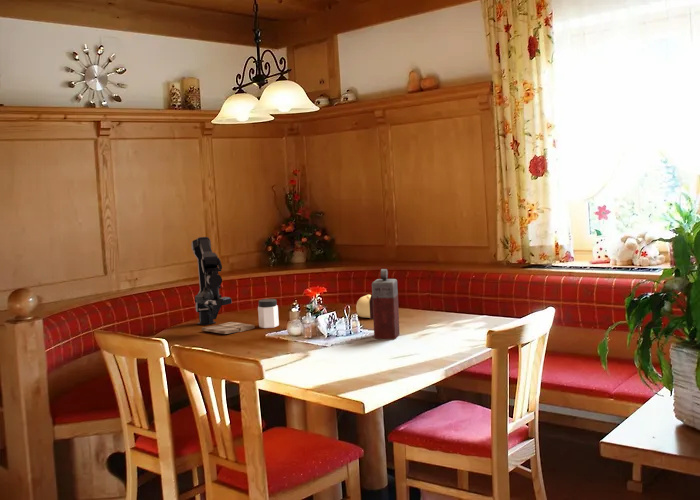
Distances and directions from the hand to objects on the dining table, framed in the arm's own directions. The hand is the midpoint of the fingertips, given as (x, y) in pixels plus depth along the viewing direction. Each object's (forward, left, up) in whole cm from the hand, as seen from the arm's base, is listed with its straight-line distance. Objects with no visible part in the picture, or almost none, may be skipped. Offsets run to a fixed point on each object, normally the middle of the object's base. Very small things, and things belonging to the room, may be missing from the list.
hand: (214, 319), depth 339 cm
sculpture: (+40, +59, -7) cm, 72 cm away
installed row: (0, +12, -6) cm, 14 cm away
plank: (0, +3, -6) cm, 7 cm away
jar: (+11, +22, -7) cm, 26 cm away
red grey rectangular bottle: (+71, +30, -7) cm, 77 cm away
